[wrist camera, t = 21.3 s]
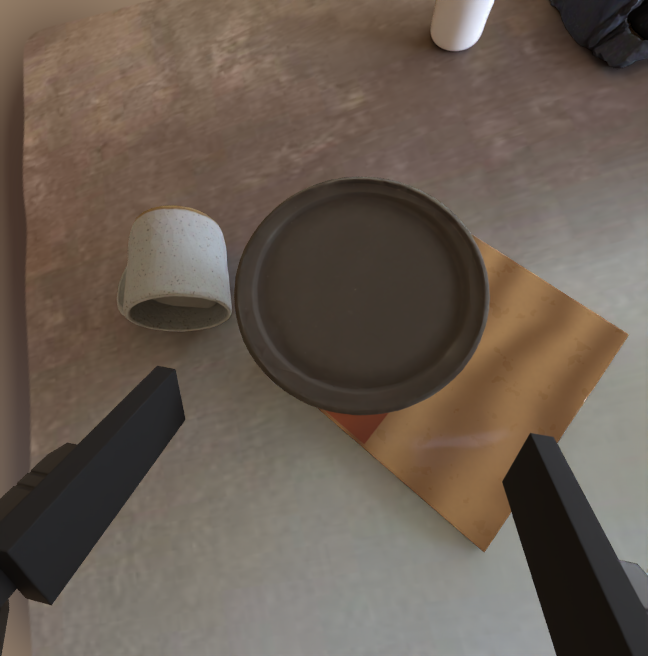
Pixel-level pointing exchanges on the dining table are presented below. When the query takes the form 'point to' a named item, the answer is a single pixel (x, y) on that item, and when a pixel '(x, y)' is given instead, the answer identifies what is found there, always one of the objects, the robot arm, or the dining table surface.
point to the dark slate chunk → (608, 28)
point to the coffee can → (361, 296)
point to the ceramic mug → (175, 271)
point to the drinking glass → (459, 22)
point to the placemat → (494, 400)
